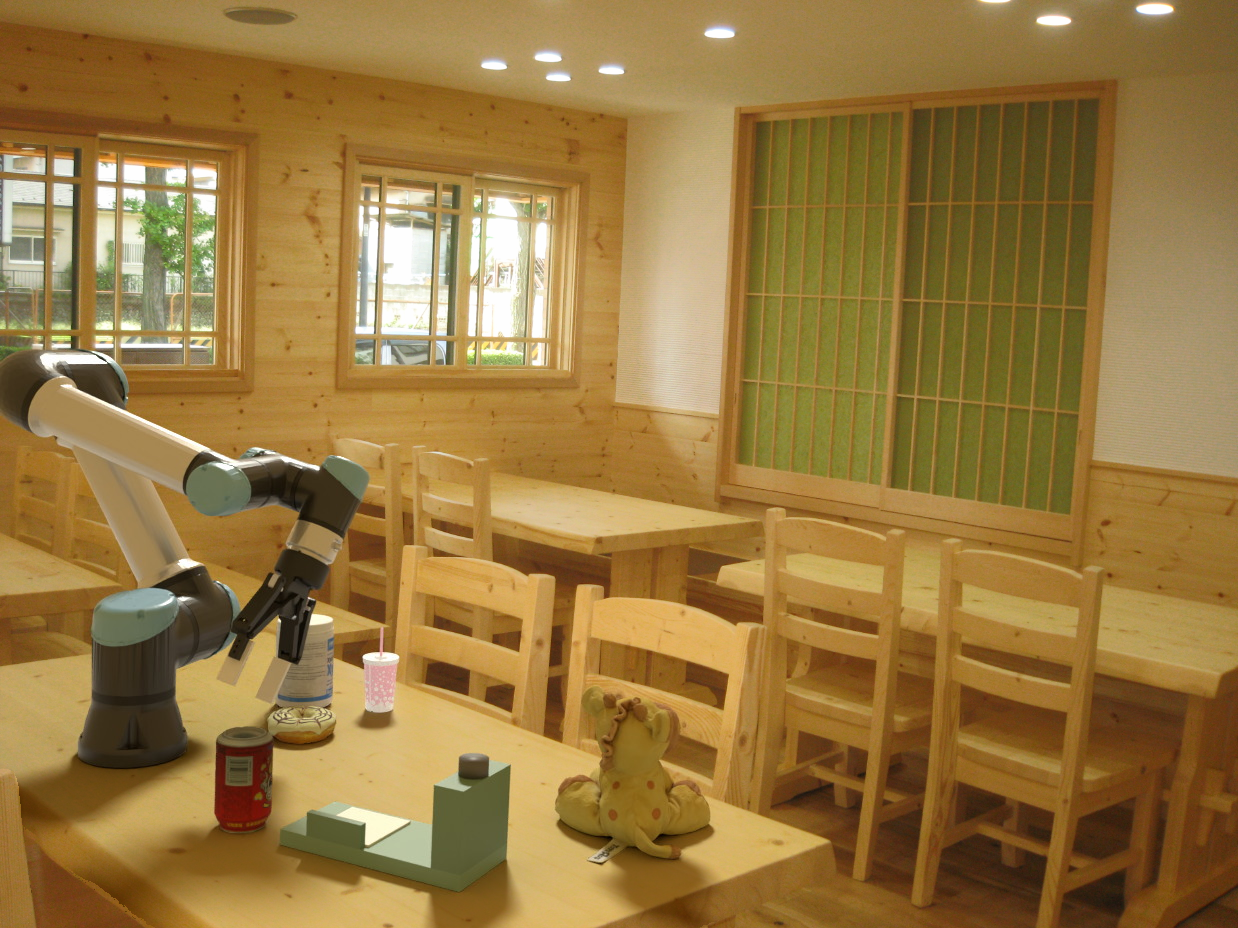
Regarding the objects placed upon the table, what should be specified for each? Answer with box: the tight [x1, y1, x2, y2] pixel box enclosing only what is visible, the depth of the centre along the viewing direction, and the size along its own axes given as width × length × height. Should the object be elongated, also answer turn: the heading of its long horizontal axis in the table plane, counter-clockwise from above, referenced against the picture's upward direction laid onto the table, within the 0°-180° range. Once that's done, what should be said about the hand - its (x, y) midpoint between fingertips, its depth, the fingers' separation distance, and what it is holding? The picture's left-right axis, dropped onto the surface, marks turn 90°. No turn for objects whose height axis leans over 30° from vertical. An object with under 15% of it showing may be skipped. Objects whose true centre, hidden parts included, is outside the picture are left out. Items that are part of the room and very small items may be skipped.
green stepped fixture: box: [279, 752, 512, 893], centre depth 155 cm, size 26×11×14 cm, turn 65°
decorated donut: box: [266, 706, 337, 745], centre depth 198 cm, size 10×11×4 cm
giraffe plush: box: [554, 684, 711, 864], centre depth 165 cm, size 20×24×19 cm
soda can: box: [213, 725, 274, 834], centre depth 161 cm, size 7×7×12 cm
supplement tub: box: [274, 613, 335, 709], centre depth 213 cm, size 10×10×15 cm
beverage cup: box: [362, 626, 400, 713], centre depth 213 cm, size 6×6×14 cm
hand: (245, 692), depth 179 cm, fingers open, 13 cm apart
